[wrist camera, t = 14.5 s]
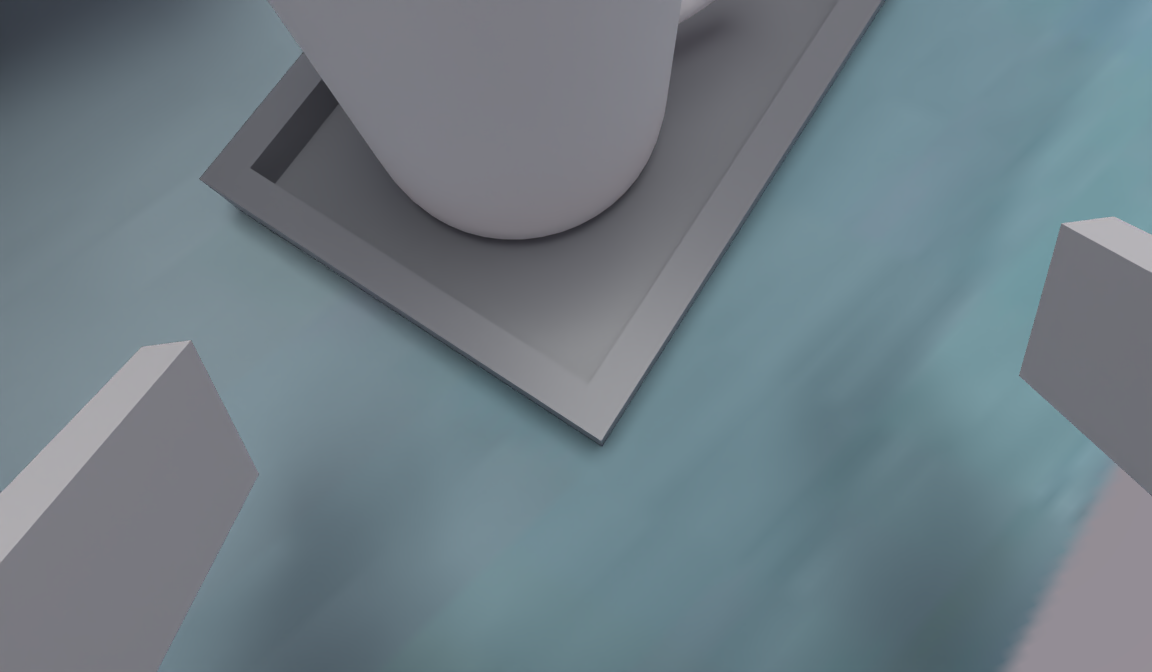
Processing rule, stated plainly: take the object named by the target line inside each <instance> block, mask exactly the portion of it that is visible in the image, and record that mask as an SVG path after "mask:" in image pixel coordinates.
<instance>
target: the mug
mask: <svg viewBox="0 0 1152 672" xmlns="http://www.w3.org/2000/svg"><path fill="white" fill-rule="evenodd" d="M713 1H715V0H268V2H269V3H270V5H271V6H272V8H273V9H274V10H275V12H276V13H277V15H278V16H279V18H280V19H281V20H282V22H283V23H284V25H285V26H286V28H287V29H288V31H289V32H290V33H291V35H292V36H293V38H294V39H295V41H296V42H297V43H298V45H299V46H300V48H301V49H302V51H303V52H304V54H305V55H306V56H307V58H308V59H309V61H310V62H311V64H312V65H313V66H314V68H315V69H316V71H317V72H318V74H319V75H320V77H321V78H322V79H323V81H324V82H325V84H326V85H327V87H328V88H329V89H330V91H331V92H332V94H333V95H334V97H335V98H336V100H337V101H338V102H339V104H340V105H341V107H342V108H343V110H344V111H345V113H346V114H347V115H348V117H349V118H350V120H351V121H352V123H353V124H354V125H355V127H356V128H357V130H358V131H359V133H360V134H361V136H362V137H363V138H364V140H365V141H366V143H367V144H368V146H369V147H370V148H371V150H372V151H373V153H374V154H375V156H376V157H377V159H378V160H379V161H380V163H381V164H382V165H383V167H384V168H385V169H386V171H387V172H388V174H389V175H390V176H391V178H392V179H393V180H394V182H395V183H396V184H397V185H398V186H399V187H400V188H401V189H402V190H403V191H404V192H405V193H406V194H407V195H408V196H409V198H410V199H411V200H412V201H413V202H415V203H416V204H417V205H419V206H420V207H421V208H423V209H424V210H425V211H426V212H428V213H429V214H430V215H432V216H433V217H435V218H437V219H438V220H440V221H442V222H444V223H445V224H447V225H449V226H452V227H454V228H456V229H459V230H461V231H464V232H467V233H471V234H474V235H478V236H482V237H488V238H496V239H530V238H539V237H544V236H548V235H552V234H556V233H560V232H563V231H566V230H568V229H571V228H574V227H576V226H579V225H581V224H582V223H584V222H586V221H588V220H590V219H592V218H594V217H596V216H597V215H598V214H600V213H601V212H603V211H604V210H606V209H607V208H608V207H610V206H611V205H612V204H613V203H614V202H616V201H617V200H618V199H619V198H620V197H621V196H622V195H623V194H624V193H625V192H626V191H627V190H628V189H629V188H630V186H631V185H632V184H633V183H634V182H635V180H636V179H637V178H638V176H639V175H640V173H641V171H642V170H643V168H644V167H645V165H646V163H647V161H648V159H649V157H650V155H651V153H652V151H653V149H654V146H655V144H656V142H657V139H658V135H659V132H660V128H661V125H662V121H663V118H664V114H665V108H666V102H667V96H668V89H669V82H670V76H671V69H672V62H673V55H674V49H675V42H676V35H677V28H678V24H679V23H681V22H683V21H685V20H686V19H688V18H690V17H691V16H693V15H694V14H696V13H698V12H699V11H701V10H702V9H704V8H705V7H706V6H708V5H709V4H710V3H712V2H713Z"/></svg>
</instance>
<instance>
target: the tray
mask: <svg viewBox="0 0 1152 672" xmlns="http://www.w3.org/2000/svg"><path fill="white" fill-rule="evenodd" d="M884 2H885V0H715V1H713V2H712V3H710V4H709V5H708V6H706V7H705V8H704V9H702V10H701V11H699V12H698V13H696V14H694V15H693V16H691V17H690V18H688V19H686V20H685V21H683V22H681V23H679V24H678V28H677V35H676V42H675V49H674V55H673V62H672V69H671V76H670V82H669V89H668V96H667V102H666V108H665V114H664V118H663V121H662V125H661V128H660V132H659V135H658V139H657V142H656V144H655V146H654V149H653V151H652V153H651V155H650V157H649V159H648V161H647V163H646V165H645V167H644V168H643V170H642V171H641V173H640V175H639V176H638V178H637V179H636V180H635V182H634V183H633V184H632V185H631V186H630V188H629V189H628V190H627V191H626V192H625V193H624V194H623V195H622V196H621V197H620V198H619V199H618V200H617V201H616V202H614V203H613V204H612V205H611V206H610V207H608V208H607V209H606V210H604V211H603V212H601V213H600V214H598V215H597V216H596V217H594V218H592V219H590V220H588V221H586V222H584V223H582V224H581V225H579V226H576V227H574V228H571V229H568V230H566V231H563V232H560V233H556V234H552V235H548V236H544V237H539V238H530V239H496V238H488V237H482V236H478V235H474V234H471V233H467V232H464V231H461V230H459V229H456V228H454V227H452V226H449V225H447V224H445V223H444V222H442V221H440V220H438V219H437V218H435V217H433V216H432V215H430V214H429V213H428V212H426V211H425V210H424V209H423V208H421V207H420V206H419V205H417V204H416V203H415V202H413V201H412V200H411V199H410V198H409V196H408V195H407V194H406V193H405V192H404V191H403V190H402V189H401V188H400V187H399V186H398V185H397V184H396V183H395V182H394V180H393V179H392V178H391V176H390V175H389V174H388V172H387V171H386V169H385V168H384V167H383V165H382V164H381V163H380V161H379V160H378V159H377V157H376V156H375V154H374V153H373V151H372V150H371V148H370V147H369V146H368V144H367V143H366V141H365V140H364V138H363V137H362V136H361V134H360V133H359V131H358V130H357V128H356V127H355V125H354V124H353V123H352V121H351V120H350V118H349V117H348V115H347V114H346V113H345V111H344V110H343V108H342V107H341V105H340V104H339V102H338V101H337V100H336V98H335V97H334V95H333V94H332V92H331V91H330V89H329V88H328V87H327V85H326V84H325V82H324V81H323V79H322V78H321V77H320V75H319V74H318V72H317V71H316V69H315V68H314V66H313V65H312V64H311V62H310V61H309V59H308V58H307V56H306V55H305V54H304V52H303V53H302V54H301V55H300V57H299V58H298V59H297V60H296V62H295V63H294V64H293V65H292V66H291V68H290V69H289V70H288V71H287V73H286V74H285V75H284V76H283V77H282V79H281V80H280V81H279V82H278V83H277V85H276V86H275V87H274V88H273V90H272V91H271V92H270V93H269V94H268V96H267V97H266V98H265V99H264V101H263V102H262V103H261V104H260V105H259V107H258V108H257V109H256V110H255V112H254V113H253V114H252V115H251V116H250V118H249V119H248V120H247V121H246V122H245V124H244V125H243V126H242V127H241V129H240V130H239V131H238V132H237V133H236V135H235V136H234V137H233V138H232V140H231V141H230V142H229V143H228V144H227V146H226V147H225V148H224V149H223V151H222V152H221V153H220V154H219V155H218V157H217V158H216V159H215V160H214V161H213V163H212V164H211V165H210V166H209V168H208V169H207V170H206V171H205V172H204V174H203V175H202V176H201V177H200V180H201V181H203V182H204V183H205V184H206V185H208V186H209V187H210V188H212V189H213V190H214V191H216V192H217V193H218V194H220V195H221V196H222V197H224V198H225V199H226V200H227V201H229V202H230V203H231V204H233V205H234V206H235V207H237V208H238V209H239V210H241V211H242V212H244V213H245V214H247V215H248V216H250V217H252V218H253V219H255V220H256V221H258V222H259V223H261V224H262V225H264V226H265V227H267V228H268V229H270V230H271V231H273V232H275V233H276V234H278V235H279V236H281V237H282V238H284V239H285V240H287V241H288V242H290V243H291V244H293V245H294V246H296V247H297V248H299V249H301V250H302V251H304V252H305V253H307V254H308V255H310V256H311V257H313V258H314V259H316V260H317V261H319V262H320V263H322V264H324V265H325V266H327V267H328V268H330V269H331V270H333V271H334V272H336V273H337V274H339V275H340V276H342V277H343V278H345V279H346V280H348V281H350V282H351V283H353V284H354V285H356V286H357V287H359V288H360V289H362V290H363V291H365V292H366V293H368V294H369V295H371V296H373V297H374V298H376V299H377V300H379V301H380V302H382V303H383V304H385V305H386V306H388V307H389V308H391V309H392V310H394V311H395V312H397V313H399V314H400V315H402V316H403V317H405V318H406V319H408V320H409V321H411V322H412V323H414V324H415V325H417V326H418V327H420V328H422V329H423V330H425V331H426V332H428V333H429V334H431V335H432V336H434V337H435V338H437V339H438V340H440V341H441V342H443V343H444V344H446V345H448V346H449V347H451V348H452V349H454V350H455V351H457V352H458V353H460V354H461V355H463V356H464V357H466V358H467V359H469V360H471V361H472V362H474V363H475V364H477V365H478V366H480V367H481V368H483V369H484V370H486V371H487V372H489V373H490V374H492V375H493V376H495V377H497V378H498V379H500V380H501V381H503V382H504V383H506V384H507V385H509V386H510V387H512V388H513V389H515V390H516V391H518V392H519V393H521V394H523V395H524V396H526V397H527V398H529V399H530V400H532V401H533V402H535V403H536V404H538V405H539V406H541V407H542V408H544V409H546V410H547V411H549V412H550V413H552V414H553V415H555V416H556V417H558V418H559V419H561V420H562V421H564V422H565V423H567V424H568V425H570V426H572V427H573V428H575V429H576V430H578V431H579V432H581V433H582V434H584V435H585V436H587V437H588V438H590V439H591V440H593V441H595V442H596V443H598V444H599V445H601V446H603V444H604V443H605V441H606V439H607V438H608V436H609V435H610V433H611V432H612V430H613V428H614V427H615V425H616V424H617V422H618V421H619V419H620V417H621V416H622V414H623V413H624V411H625V410H626V408H627V406H628V405H629V403H630V402H631V400H632V398H633V397H634V395H635V394H636V392H637V391H638V389H639V387H640V386H641V384H642V383H643V381H644V380H645V378H646V376H647V375H648V373H649V372H650V370H651V369H652V367H653V365H654V364H655V362H656V361H657V359H658V358H659V356H660V354H661V353H662V351H663V350H664V348H665V347H666V345H667V343H668V342H669V340H670V339H671V337H672V336H673V334H674V332H675V331H676V329H677V328H678V326H679V325H680V323H681V321H682V320H683V318H684V317H685V315H686V314H687V312H688V310H689V309H690V307H691V306H692V304H693V303H694V301H695V299H696V298H697V296H698V295H699V293H700V291H701V290H702V288H703V287H704V285H705V284H706V282H707V280H708V279H709V277H710V276H711V274H712V273H713V271H714V269H715V268H716V266H717V265H718V263H719V262H720V260H721V258H722V257H723V255H724V254H725V252H726V251H727V249H728V247H729V246H730V244H731V243H732V241H733V240H734V238H735V236H736V235H737V233H738V232H739V230H740V229H741V227H742V225H743V224H744V222H745V221H746V219H747V218H748V216H749V214H750V213H751V211H752V210H753V208H754V207H755V205H756V203H757V202H758V200H759V199H760V197H761V195H762V194H763V192H764V191H765V189H766V188H767V186H768V184H769V183H770V181H771V180H772V178H773V177H774V175H775V173H776V172H777V170H778V169H779V167H780V166H781V164H782V162H783V161H784V159H785V158H786V156H787V155H788V153H789V151H790V150H791V148H792V147H793V145H794V144H795V142H796V140H797V139H798V137H799V136H800V134H801V133H802V131H803V129H804V128H805V126H806V125H807V123H808V122H809V120H810V118H811V117H812V115H813V114H814V112H815V111H816V109H817V107H818V106H819V104H820V103H821V101H822V100H823V98H824V96H825V95H826V93H827V92H828V90H829V88H830V87H831V85H832V84H833V82H834V81H835V79H836V77H837V76H838V74H839V73H840V71H841V70H842V68H843V66H844V65H845V63H846V62H847V60H848V59H849V57H850V55H851V54H852V52H853V51H854V49H855V48H856V46H857V44H858V43H859V41H860V40H861V38H862V37H863V35H864V33H865V32H866V30H867V29H868V27H869V26H870V24H871V22H872V21H873V19H874V18H875V16H876V15H877V13H878V11H879V10H880V8H881V7H882V5H883V4H884Z"/></svg>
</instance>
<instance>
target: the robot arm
mask: <svg viewBox="0 0 1152 672" xmlns="http://www.w3.org/2000/svg"><path fill="white" fill-rule="evenodd" d="M1019 376H1020V377H1021V378H1022V379H1023V380H1025V381H1026V382H1027V383H1028V384H1029V385H1030V386H1031V387H1032V388H1033V389H1034V390H1036V391H1037V392H1038V393H1039V394H1040V395H1041V396H1042V397H1043V398H1044V399H1045V400H1047V401H1048V402H1049V403H1050V404H1051V405H1052V406H1053V407H1054V408H1055V409H1056V410H1058V411H1059V412H1060V413H1061V414H1062V415H1063V416H1064V417H1065V418H1066V419H1068V420H1069V421H1070V422H1071V423H1072V424H1073V425H1074V426H1075V427H1076V428H1077V429H1079V430H1080V431H1081V432H1082V433H1083V434H1084V435H1085V436H1086V437H1087V438H1088V439H1090V440H1091V441H1092V442H1093V443H1094V444H1095V445H1096V446H1097V447H1098V448H1099V449H1101V450H1102V451H1103V452H1104V453H1105V454H1106V455H1107V456H1108V457H1109V458H1110V459H1112V460H1113V461H1114V462H1115V463H1116V464H1117V465H1118V466H1119V467H1120V468H1122V469H1123V470H1124V471H1125V472H1126V473H1127V474H1128V475H1129V476H1131V478H1133V479H1134V480H1135V481H1136V482H1137V483H1138V484H1139V485H1140V486H1141V487H1143V488H1144V489H1145V490H1146V491H1147V492H1148V493H1149V494H1150V495H1151V496H1152V235H1151V234H1149V233H1147V232H1145V231H1143V230H1140V229H1138V228H1136V227H1134V226H1132V225H1130V224H1128V223H1126V222H1124V221H1122V220H1120V219H1118V218H1116V217H1107V218H1099V219H1092V220H1084V221H1077V222H1069V223H1062V224H1061V227H1060V231H1059V234H1058V238H1057V241H1056V245H1055V249H1054V252H1053V256H1052V259H1051V263H1050V267H1049V270H1048V274H1047V277H1046V281H1045V284H1044V288H1043V292H1042V295H1041V299H1040V302H1039V306H1038V310H1037V313H1036V317H1035V320H1034V324H1033V328H1032V331H1031V335H1030V338H1029V342H1028V345H1027V349H1026V353H1025V356H1024V360H1023V363H1022V367H1021V371H1020V374H1019ZM258 475H259V473H258V471H257V469H256V467H255V465H254V463H253V461H252V460H251V458H250V456H249V454H248V452H247V450H246V448H245V446H244V444H243V442H242V440H241V438H240V436H239V434H238V432H237V430H236V428H235V426H234V424H233V422H232V420H231V418H230V416H229V414H228V412H227V410H226V408H225V406H224V404H223V402H222V400H221V398H220V396H219V394H218V392H217V390H216V388H215V386H214V384H213V382H212V380H211V378H210V376H209V374H208V372H207V371H206V369H205V367H204V365H203V363H202V361H201V359H200V357H199V355H198V353H197V351H196V349H195V347H194V345H193V343H192V341H191V340H189V341H181V342H174V343H166V344H159V345H152V346H144V347H141V348H140V349H139V350H138V351H137V352H136V353H135V354H134V355H133V356H132V357H131V359H130V360H129V361H128V362H127V363H126V364H125V365H124V366H123V367H122V368H121V369H120V370H119V371H118V372H117V373H116V374H115V375H114V376H113V377H112V378H111V379H110V380H109V381H108V382H107V383H106V384H105V385H104V387H103V388H102V389H101V390H100V391H99V392H98V393H97V394H96V395H95V396H94V397H93V398H92V399H91V400H90V401H89V402H88V403H87V404H86V405H85V406H84V407H83V408H82V409H81V410H80V411H79V412H78V413H77V415H76V416H75V417H74V418H73V419H72V420H71V421H70V422H69V423H68V424H67V425H66V426H65V427H64V428H63V429H62V430H61V431H60V432H59V433H58V434H57V435H56V436H55V437H54V438H53V439H52V440H51V441H50V443H49V444H48V445H47V446H46V447H45V448H44V449H43V450H42V451H41V452H40V453H39V454H38V455H37V456H36V457H35V458H34V459H33V460H32V461H31V462H30V463H29V464H28V465H27V466H26V467H25V468H24V469H23V471H22V472H21V473H20V474H19V475H18V476H17V477H16V478H15V479H14V480H13V481H12V482H11V483H10V484H9V485H8V486H7V487H6V488H5V489H4V490H3V491H2V492H1V493H0V672H157V670H158V668H159V666H160V664H161V663H162V661H163V659H164V657H165V655H166V653H167V651H168V649H169V647H170V645H171V643H172V641H173V639H174V637H175V635H176V634H177V632H178V630H179V628H180V626H181V624H182V622H183V620H184V618H185V616H186V614H187V612H188V610H189V608H190V606H191V604H192V603H193V601H194V599H195V597H196V595H197V593H198V591H199V589H200V587H201V585H202V583H203V581H204V579H205V577H206V575H207V574H208V572H209V570H210V568H211V566H212V564H213V562H214V560H215V558H216V556H217V554H218V552H219V550H220V548H221V546H222V545H223V543H224V541H225V539H226V537H227V535H228V533H229V531H230V529H231V527H232V525H233V523H234V521H235V519H236V517H237V516H238V514H239V512H240V510H241V508H242V506H243V504H244V502H245V500H246V498H247V496H248V494H249V492H250V490H251V488H252V487H253V485H254V483H255V481H256V479H257V477H258Z"/></svg>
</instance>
